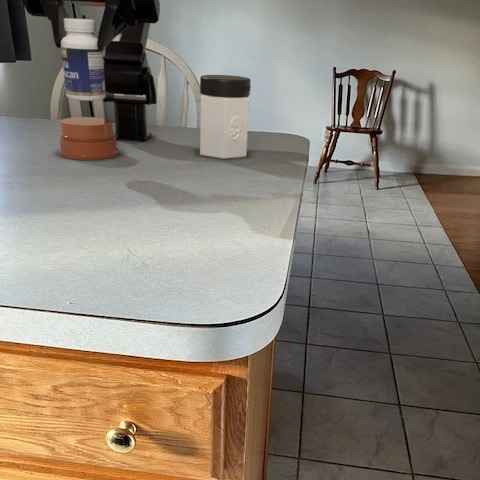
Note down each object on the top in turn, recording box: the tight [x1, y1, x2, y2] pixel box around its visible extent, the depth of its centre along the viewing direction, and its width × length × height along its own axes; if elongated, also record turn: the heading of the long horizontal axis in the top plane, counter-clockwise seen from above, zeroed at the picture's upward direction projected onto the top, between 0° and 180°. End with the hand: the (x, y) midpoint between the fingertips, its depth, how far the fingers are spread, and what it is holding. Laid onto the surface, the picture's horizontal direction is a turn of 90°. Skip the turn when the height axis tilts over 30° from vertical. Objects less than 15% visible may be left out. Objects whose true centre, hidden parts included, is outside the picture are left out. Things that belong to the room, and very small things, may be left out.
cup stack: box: [58, 116, 120, 161], centre depth 87 cm, size 9×9×5 cm
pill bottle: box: [60, 17, 105, 102], centre depth 74 cm, size 5×5×10 cm
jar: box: [199, 74, 251, 160], centre depth 90 cm, size 9×8×12 cm
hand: (78, 46), depth 72 cm, fingers closed on pill bottle, 5 cm apart
